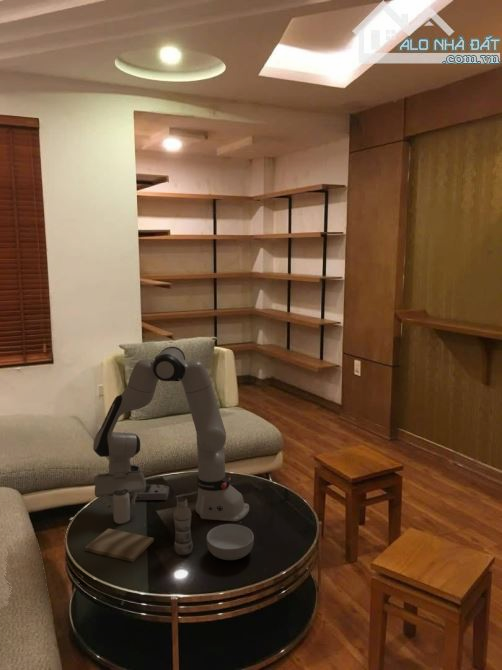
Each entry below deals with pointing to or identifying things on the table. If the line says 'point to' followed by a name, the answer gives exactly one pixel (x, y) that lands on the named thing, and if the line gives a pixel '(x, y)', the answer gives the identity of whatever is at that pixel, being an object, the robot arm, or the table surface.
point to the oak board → (119, 544)
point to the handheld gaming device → (154, 493)
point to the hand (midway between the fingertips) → (121, 505)
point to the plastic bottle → (182, 528)
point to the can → (121, 506)
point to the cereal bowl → (230, 541)
